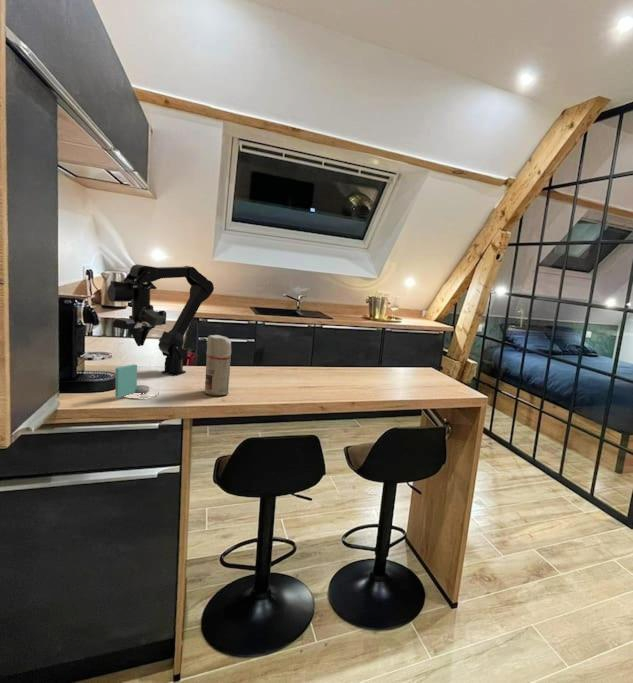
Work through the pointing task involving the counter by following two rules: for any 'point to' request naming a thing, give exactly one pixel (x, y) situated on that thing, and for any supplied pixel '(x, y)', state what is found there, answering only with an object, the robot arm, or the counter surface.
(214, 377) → the spray can
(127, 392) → the teal panel
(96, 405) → the counter surface
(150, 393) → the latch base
